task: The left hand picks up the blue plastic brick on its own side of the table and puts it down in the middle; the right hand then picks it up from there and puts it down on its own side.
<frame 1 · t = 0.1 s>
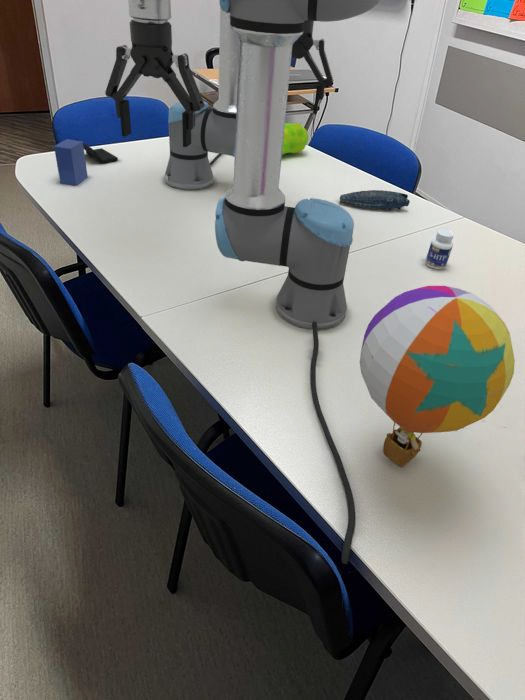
left hand: (156, 140, 108), 28 cm above the table, tool pointing down, fingers open, 13 cm apart
right hand: (289, 109, 135), 28 cm above the table, tool pointing down, fingers open, 13 cm apart
fish model: (372, 206, 160), on the table
brick: (74, 180, 159), on the table
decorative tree: (267, 153, 192), on the table
pill bottle: (435, 265, 133), on the table
black piece: (97, 158, 175), on the table
toy: (397, 457, 82), on the table
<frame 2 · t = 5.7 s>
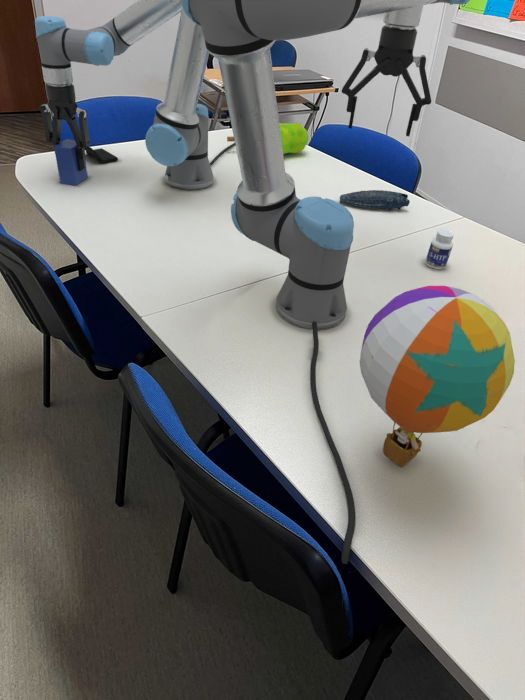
left hand: (72, 167, 156), 4 cm above the table, tool pointing down, fingers closed on brick, 5 cm apart
right hand: (378, 131, 123), 29 cm above the table, tool pointing down, fingers open, 13 cm apart
brick: (74, 180, 159), on the table, touching left hand
everything else where it was.
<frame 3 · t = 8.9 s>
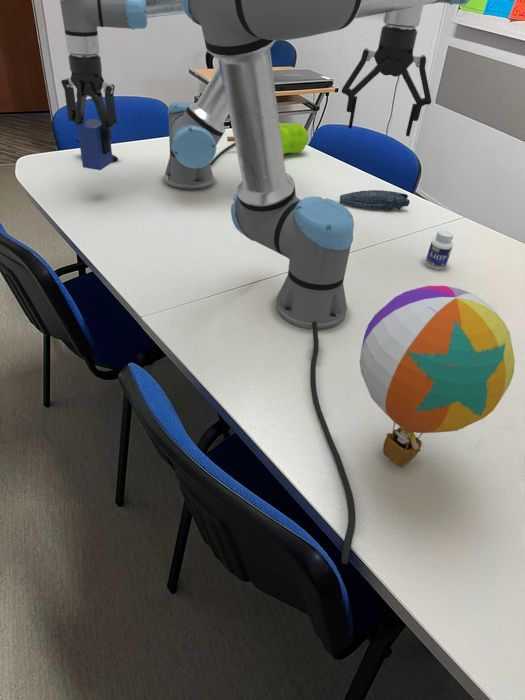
left hand: (96, 150, 141), 14 cm above the table, tool pointing down, fingers closed on brick, 5 cm apart
right hand: (378, 131, 123), 29 cm above the table, tool pointing down, fingers open, 13 cm apart
brick: (98, 164, 144), point 10 cm above the table, touching left hand
everything else where it was.
when the left hand's fingers open (6 cm above the table, at t = 12.4 s): brick drops 2 cm, on the table.
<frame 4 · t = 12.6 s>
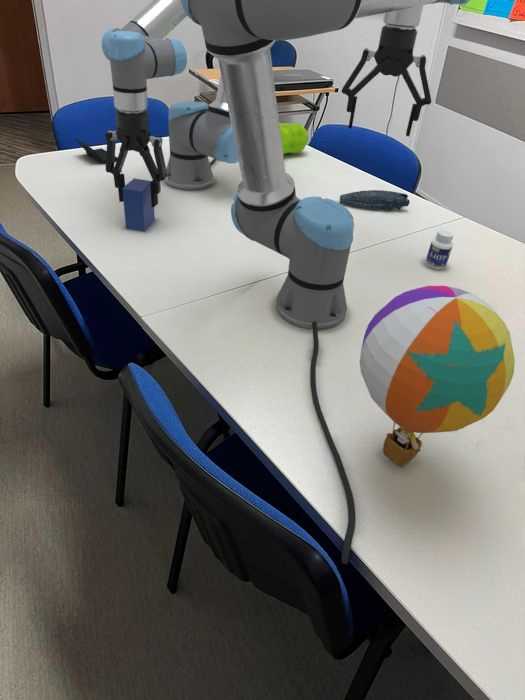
left hand: (138, 202, 135), 6 cm above the table, tool pointing down, fingers open, 8 cm apart
right hand: (378, 131, 123), 29 cm above the table, tool pointing down, fingers open, 13 cm apart
brick: (140, 224, 139), on the table
everything else where it was.
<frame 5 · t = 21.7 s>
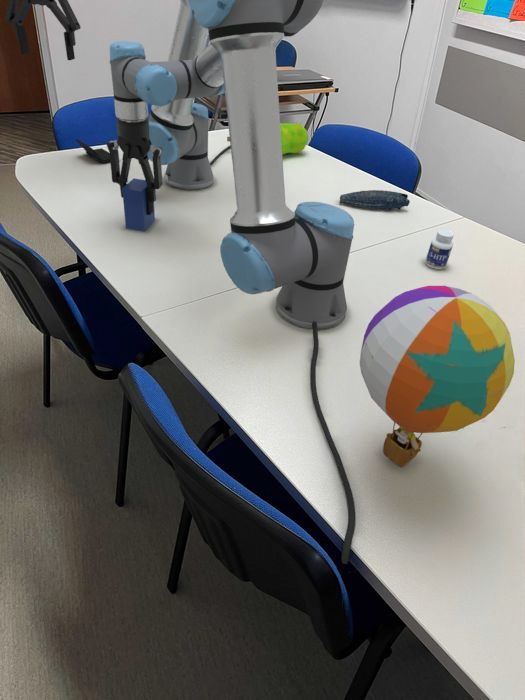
left hand: (48, 56, 143), 32 cm above the table, tool pointing down, fingers open, 13 cm apart
right hand: (139, 211, 137), 4 cm above the table, tool pointing down, fingers closed on brick, 5 cm apart
brick: (140, 224, 139), on the table, touching right hand
everything else where it was.
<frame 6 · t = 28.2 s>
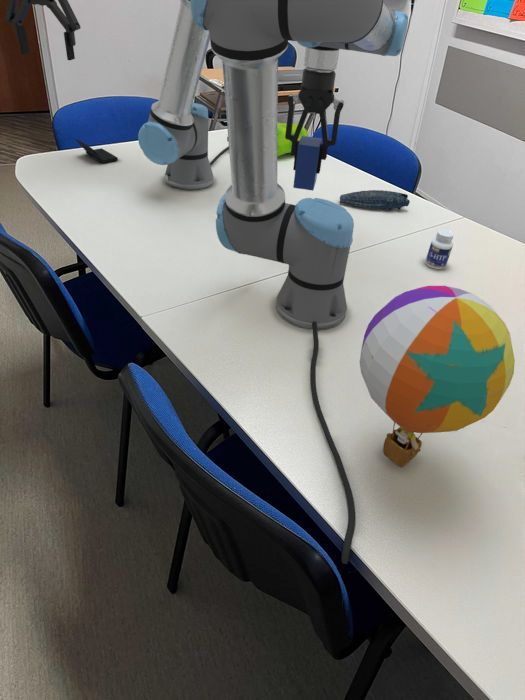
left hand: (48, 56, 143), 32 cm above the table, tool pointing down, fingers open, 13 cm apart
right hand: (306, 169, 133), 17 cm above the table, tool pointing down, fingers closed on brick, 5 cm apart
brick: (304, 184, 135), point 13 cm above the table, touching right hand
everything else where it was.
when the right hand's fingers open (6 cm above the table, at t = 34.7 s): brick drops 2 cm, on the table.
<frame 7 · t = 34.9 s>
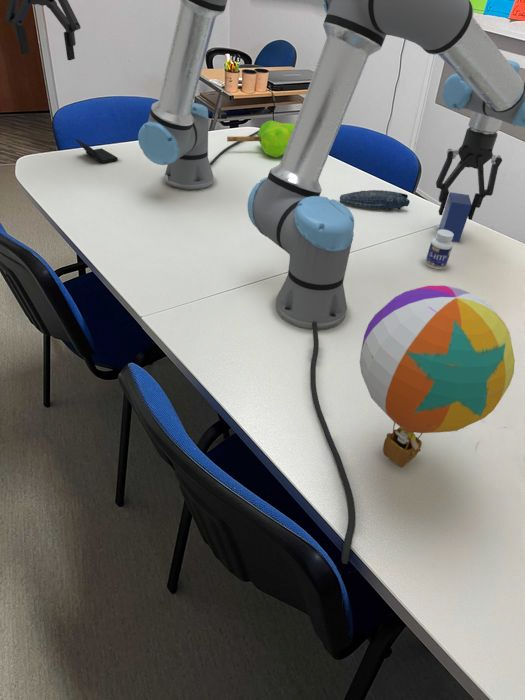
left hand: (48, 56, 143), 32 cm above the table, tool pointing down, fingers open, 13 cm apart
right hand: (455, 215, 144), 6 cm above the table, tool pointing down, fingers open, 7 cm apart
brick: (448, 235, 148), on the table
everything else where it was.
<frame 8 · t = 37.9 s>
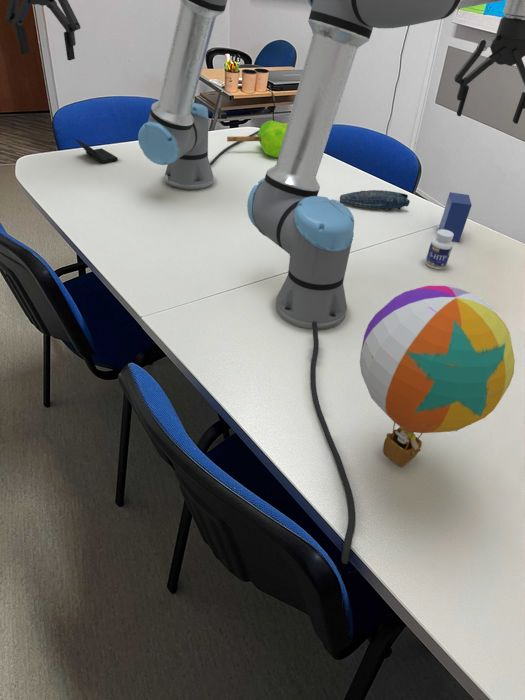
left hand: (48, 56, 143), 32 cm above the table, tool pointing down, fingers open, 13 cm apart
right hand: (486, 118, 128), 31 cm above the table, tool pointing down, fingers open, 13 cm apart
nothing on the table moved.
at the end: brick inside the target area (0.1 cm from its centre), on the table; brick tilted 0°; the two hands never held the brick at the same time; the left hand is holding nothing; the right hand is holding nothing; brick at rest at the end (0.0 cm/s) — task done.
